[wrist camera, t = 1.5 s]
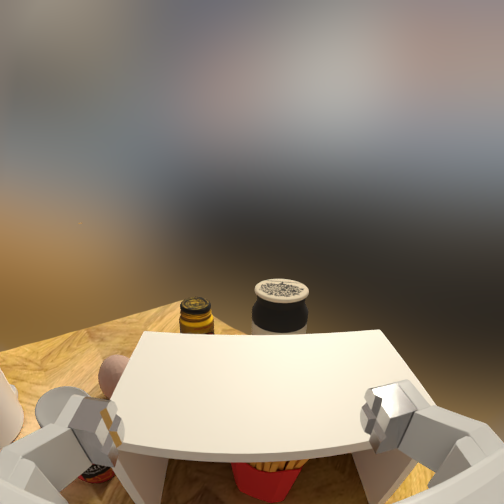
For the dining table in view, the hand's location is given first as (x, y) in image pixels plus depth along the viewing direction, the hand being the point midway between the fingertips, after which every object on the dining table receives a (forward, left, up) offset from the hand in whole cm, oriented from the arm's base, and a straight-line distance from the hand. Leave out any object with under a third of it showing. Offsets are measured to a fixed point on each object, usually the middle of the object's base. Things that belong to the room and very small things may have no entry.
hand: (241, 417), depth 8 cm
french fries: (+3, +11, -27) cm, 29 cm away
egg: (-18, +26, -27) cm, 42 cm away
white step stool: (+3, +12, -27) cm, 30 cm away
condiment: (-8, +39, -27) cm, 48 cm away
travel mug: (+6, +31, -27) cm, 42 cm away
